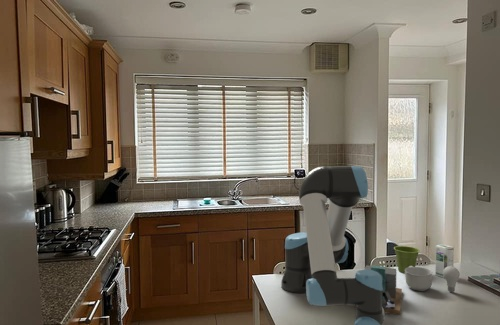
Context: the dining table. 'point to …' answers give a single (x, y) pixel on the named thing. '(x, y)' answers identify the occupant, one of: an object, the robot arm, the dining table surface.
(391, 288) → the grey rectangular block
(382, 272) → the teal rectangular block
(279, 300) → the dining table surface
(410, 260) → the plant pot
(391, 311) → the base board
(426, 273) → the teacup
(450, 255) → the syrup box
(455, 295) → the dining table surface
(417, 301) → the dining table surface
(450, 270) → the lightbulb
